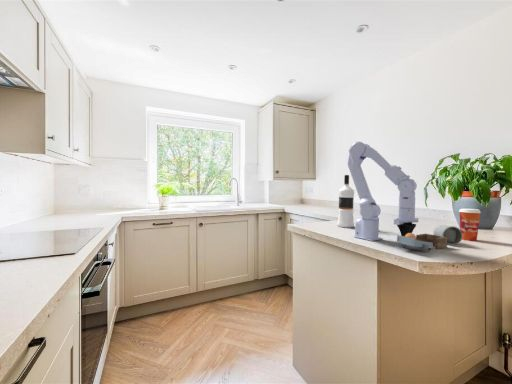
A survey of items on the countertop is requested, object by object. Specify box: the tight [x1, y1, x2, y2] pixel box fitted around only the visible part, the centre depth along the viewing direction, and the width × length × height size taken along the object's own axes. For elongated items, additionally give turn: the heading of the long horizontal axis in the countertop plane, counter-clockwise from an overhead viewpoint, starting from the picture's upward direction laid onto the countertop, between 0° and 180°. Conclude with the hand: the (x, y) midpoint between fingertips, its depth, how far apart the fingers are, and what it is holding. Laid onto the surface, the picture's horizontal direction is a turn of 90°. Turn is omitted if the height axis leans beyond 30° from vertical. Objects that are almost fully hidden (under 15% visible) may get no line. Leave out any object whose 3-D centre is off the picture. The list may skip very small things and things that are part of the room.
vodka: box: [336, 174, 355, 229], centre depth 142 cm, size 9×9×30 cm
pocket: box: [415, 233, 448, 250], centre depth 99 cm, size 8×7×4 cm
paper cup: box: [458, 208, 482, 242], centre depth 111 cm, size 8×8×14 cm
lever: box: [396, 234, 434, 249], centre depth 95 cm, size 12×14×3 cm
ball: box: [405, 232, 416, 239], centre depth 91 cm, size 4×4×4 cm
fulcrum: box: [402, 244, 429, 253], centre depth 93 cm, size 8×2×3 cm, turn 30°
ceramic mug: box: [433, 224, 462, 246], centre depth 105 cm, size 11×8×8 cm
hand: (405, 240), depth 101 cm, fingers closed, pressing on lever
